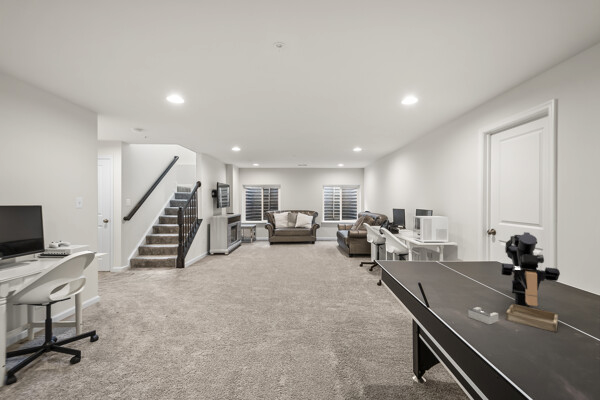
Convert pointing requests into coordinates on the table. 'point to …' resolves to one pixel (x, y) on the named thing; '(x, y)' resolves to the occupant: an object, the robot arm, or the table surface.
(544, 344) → the table surface
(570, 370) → the table surface
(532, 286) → the orange post
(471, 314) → the white piece
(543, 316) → the tray
